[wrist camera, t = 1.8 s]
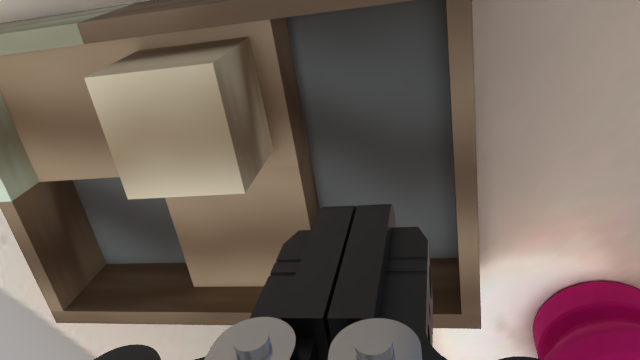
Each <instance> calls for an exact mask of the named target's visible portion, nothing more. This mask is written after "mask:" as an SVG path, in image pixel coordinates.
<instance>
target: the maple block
mask: <svg viewBox="0 0 640 360" xmlns="http://www.w3.org/2000/svg"><path fill="white" fill-rule="evenodd" d="M84 79H85V82H86V85H87V88H88V90H89V93H90V96H91V99H92V102H93V104H94V107H95V110H96V113H97V115H98V118H99V121H100V124H101V126H102V129H103V132H104V135H105V137H106V140H107V143H108V146H109V149H110V151H111V154H112V157H113V160H114V162H115V165H116V168H117V171H118V173H119V176H120V179H121V182H122V184H123V187H124V190H125V193H126V195H127V198H128V199H147V198H167V197H188V196H208V195H228V194H245V193H246V191H247V190H248V188H249V187H250V185H251V184H252V182H253V181H254V179H255V178H256V176H257V174H258V173H259V171H260V170H261V168H262V167H263V165H264V164H265V162H266V161H267V159H268V157H269V156H270V154H271V153H272V151H273V146H272V142H271V137H270V132H269V128H268V123H267V118H266V114H265V109H264V104H263V99H262V95H261V90H260V85H259V81H258V76H257V71H256V67H255V62H254V57H253V53H252V48H251V43H250V39H249V37H241V38H233V39H225V40H217V41H209V42H201V43H193V44H185V45H178V46H170V47H162V48H154V49H146V50H138V51H136V52H134V53H132V54H130V55H128V56H126V57H124V58H122V59H120V60H118V61H116V62H115V63H113V64H111V65H109V66H107V67H105V68H103V69H101V70H99V71H97V72H95V73H93V74H91V75H89V76H87V77H85V78H84Z"/></svg>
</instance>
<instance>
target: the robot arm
mask: <svg viewBox="0 0 640 360" xmlns="http://www.w3.org/2000/svg"><path fill="white" fill-rule="evenodd" d="M432 319H433V296H432V283H431V271H430V258H429V246H428V240H427V238H426V237H425V236H424V234H423V233H422V231H421V230H420V229H419V227H396V221H395V213H394V207H393V204H378V205H358V206H333V207H322V208H321V210H320V212H319V215H318V217H317V220H316V222H315V225H314V227H313V230H299V231H297V232H296V233H295V234H294V235H293V236H292V237H291V238H290V239H288V240H287V241H286V242H285V243H284V244H283V246H282V248H281V250H280V253H279V255H278V257H277V259H276V263H274V266H273V268H272V270H271V272H270V276H269V277H268V279H267V281H266V283H265V285H264V287H263V290H262V292H261V294H260V296H259V298H258V301H257V303H256V305H255V307H254V309H253V312H252V314H251V316H250V318H249V319H247V320H244V321H241V322H239V323H237V324H235V325H233V326H231V327H230V328H228V329H227V330H226V331H224V332H223V333H222V334H221V335H220V336H219V337H218V338H217V340H216V341H215V342H214V344H213V346H212V347H211V349H210V350H209V352H208V354H207V355H206V357H203V358H199V359H195V360H447V359H446V358H444V357H443V356H441V355H440V354H439V353H438V352H437V351H436V350H435V349H434V348H433V347H432V334H433V320H432ZM94 360H161V359H160V356H159V354H158V353H157V351H155V350H154V349H153V348H151V347H149V346H145V345H128V346H123V347H119V348H116V349H114V350H111V351H109V352H107V353H105V354H103V355H101V356H99V357H98V358H96V359H94ZM500 360H541V359H536V358H531V357H509V358H504V359H500Z"/></svg>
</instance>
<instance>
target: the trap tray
mask: <svg viewBox="0 0 640 360" xmlns="http://www.w3.org/2000/svg"><path fill="white" fill-rule="evenodd" d="M241 37H249V39H250V43H251V48H252V53H253V57H254V62H255V67H256V71H257V76H258V81H259V85H260V90H261V95H262V99H263V104H264V109H265V114H266V118H267V123H268V128H269V132H270V137H271V142H272V146H273V151H272V153H271V154H270V156H269V157H268V159H267V161H266V162H265V164H264V165H263V167H262V168H261V170H260V171H259V173H258V174H257V176H256V178H255V179H254V181H253V182H252V184H251V185H250V187H249V188H248V190H247V191H246V193H245V194H228V195H208V196H188V197H167V198H147V199H128V198H127V195H126V193H125V190H124V187H123V184H122V182H121V179H120V176H119V173H118V171H117V168H116V165H115V162H114V160H113V157H112V154H111V151H110V149H109V146H108V143H107V140H106V137H105V135H104V132H103V129H102V126H101V124H100V121H99V118H98V115H97V113H96V110H95V107H94V104H93V102H92V99H91V96H90V93H89V90H88V88H87V85H86V82H85V79H84V78H85V77H87V76H89V75H91V74H93V73H95V72H97V71H99V70H101V69H103V68H105V67H107V66H109V65H111V64H113V63H115V62H116V61H118V60H120V59H122V58H124V57H126V56H128V55H130V54H132V53H134V52H136V51H138V50H146V49H154V48H162V47H170V46H178V45H185V44H193V43H201V42H209V41H217V40H225V39H233V38H241ZM378 204H393V207H394V213H395V221H396V227H419V229H420V230H421V231H422V233H423V234H424V236H425V237H426V238H427V240H428V246H429V258H430V271H431V283H432V296H433V319H432V320H433V328H471V329H481V306H480V271H479V236H478V202H477V167H476V132H475V97H474V62H473V27H472V0H154V1H148V2H141V3H134V4H128V5H121V6H114V7H108V8H101V9H94V10H88V11H81V12H74V13H68V14H61V15H54V16H48V17H41V18H34V19H28V20H21V21H15V22H8V23H1V24H0V208H1V210H2V212H3V214H4V216H5V218H6V220H7V222H8V224H9V226H10V228H11V230H12V232H13V234H14V237H15V239H16V241H17V243H18V245H19V247H20V249H21V251H22V253H23V255H24V257H25V259H26V261H27V263H28V265H29V267H30V269H31V271H32V273H33V276H34V278H35V280H36V282H37V284H38V286H39V288H40V290H41V292H42V294H43V296H44V298H45V300H46V302H47V304H48V306H49V308H50V310H51V312H52V315H53V317H54V319H55V321H56V323H113V324H185V325H235V324H237V323H239V322H241V321H244V320H247V319H249V318H250V316H251V314H252V312H253V309H254V307H255V305H256V303H257V301H258V298H259V296H260V294H261V292H262V290H263V287H264V285H265V283H266V281H267V279H268V277H269V276H270V272H271V270H272V268H273V266H274V263H276V259H277V257H278V255H279V253H280V250H281V248H282V246H283V244H284V243H285V242H286V241H287V240H288V239H290V238H291V237H292V236H293V235H294V234H295V233H296V232H297V231H299V230H313V227H314V225H315V222H316V220H317V217H318V215H319V212H320V210H321V208H322V207H333V206H358V205H378Z"/></svg>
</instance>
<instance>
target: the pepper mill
mask: <svg viewBox="0 0 640 360" xmlns="http://www.w3.org/2000/svg"><path fill="white" fill-rule="evenodd" d="M533 337H534V342H535V346H536V350H537V354H538V358H539V359H541V360H640V290H638V289H636V288H633V287H631V286H628V285H624V284H621V283H616V282H602V281H597V282H589V283H582V284H579V285H575V286H572V287H569V288H566V289H564V290H562V291H561V292H559V293H557V294H556V295H554V296H553V297H551V298H550V299H549V300H548V301H547V302H546V303H545V304H544V305H543V306H542V307H541V309H540V310H539V311H538V313H537V315H536V318H535V320H534V325H533Z"/></svg>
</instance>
